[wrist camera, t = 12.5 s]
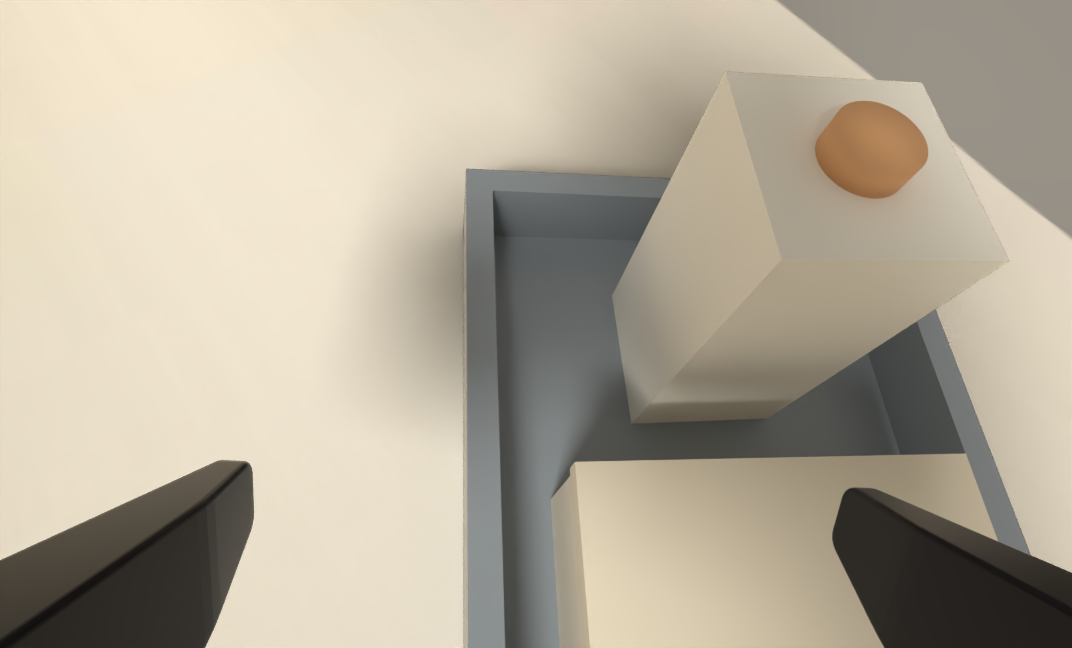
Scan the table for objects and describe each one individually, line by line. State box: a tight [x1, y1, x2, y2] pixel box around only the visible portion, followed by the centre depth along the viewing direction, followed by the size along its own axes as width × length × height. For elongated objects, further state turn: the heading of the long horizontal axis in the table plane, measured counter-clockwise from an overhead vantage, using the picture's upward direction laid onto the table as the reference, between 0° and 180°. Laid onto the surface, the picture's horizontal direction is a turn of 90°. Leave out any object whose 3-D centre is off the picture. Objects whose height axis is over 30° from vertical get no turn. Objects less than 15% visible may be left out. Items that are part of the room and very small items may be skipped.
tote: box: [463, 169, 1031, 648], centre depth 22 cm, size 22×18×4 cm
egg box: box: [551, 454, 998, 648], centre depth 18 cm, size 8×12×5 cm
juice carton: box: [612, 71, 1010, 424], centre depth 19 cm, size 6×6×12 cm
